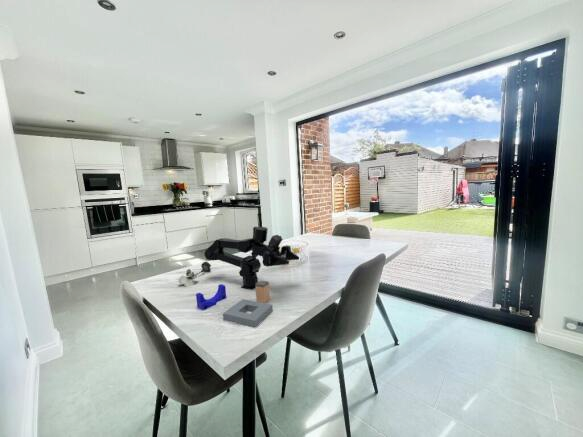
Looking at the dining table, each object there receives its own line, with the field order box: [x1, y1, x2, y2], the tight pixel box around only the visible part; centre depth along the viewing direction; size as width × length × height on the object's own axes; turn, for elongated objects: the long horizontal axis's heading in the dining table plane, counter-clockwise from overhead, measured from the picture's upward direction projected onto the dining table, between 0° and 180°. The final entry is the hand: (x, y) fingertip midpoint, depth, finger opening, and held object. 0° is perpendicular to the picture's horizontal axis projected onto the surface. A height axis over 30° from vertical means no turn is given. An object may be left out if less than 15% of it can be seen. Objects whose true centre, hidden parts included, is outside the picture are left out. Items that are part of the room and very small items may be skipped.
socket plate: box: [222, 298, 274, 328], centre depth 90 cm, size 14×12×2 cm
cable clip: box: [195, 283, 227, 311], centre depth 101 cm, size 12×4×6 cm, turn 140°
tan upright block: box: [255, 280, 271, 304], centre depth 101 cm, size 4×4×8 cm
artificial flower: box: [177, 261, 212, 288], centre depth 130 cm, size 9×22×10 cm, turn 164°
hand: (294, 260), depth 103 cm, fingers open, 9 cm apart
